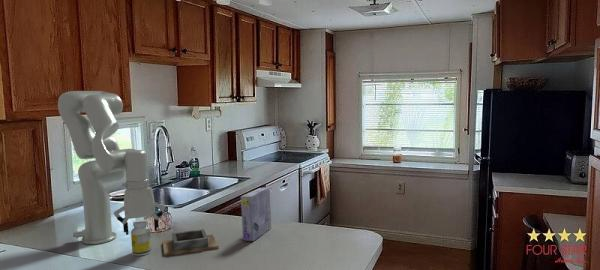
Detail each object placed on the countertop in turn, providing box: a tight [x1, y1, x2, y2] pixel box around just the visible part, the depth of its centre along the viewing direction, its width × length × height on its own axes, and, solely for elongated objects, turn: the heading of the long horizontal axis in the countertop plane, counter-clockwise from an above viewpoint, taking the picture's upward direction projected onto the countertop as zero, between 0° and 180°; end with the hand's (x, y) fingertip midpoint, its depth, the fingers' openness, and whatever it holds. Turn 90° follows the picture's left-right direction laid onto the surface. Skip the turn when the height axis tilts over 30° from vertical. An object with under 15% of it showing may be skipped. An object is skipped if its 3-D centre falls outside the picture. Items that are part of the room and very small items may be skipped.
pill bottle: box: [130, 219, 152, 257], centre depth 154 cm, size 6×6×12 cm
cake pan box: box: [240, 186, 272, 243], centre depth 172 cm, size 19×5×18 cm, turn 160°
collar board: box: [162, 228, 219, 257], centre depth 161 cm, size 19×14×4 cm
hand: (141, 231), depth 154 cm, fingers open, 9 cm apart
